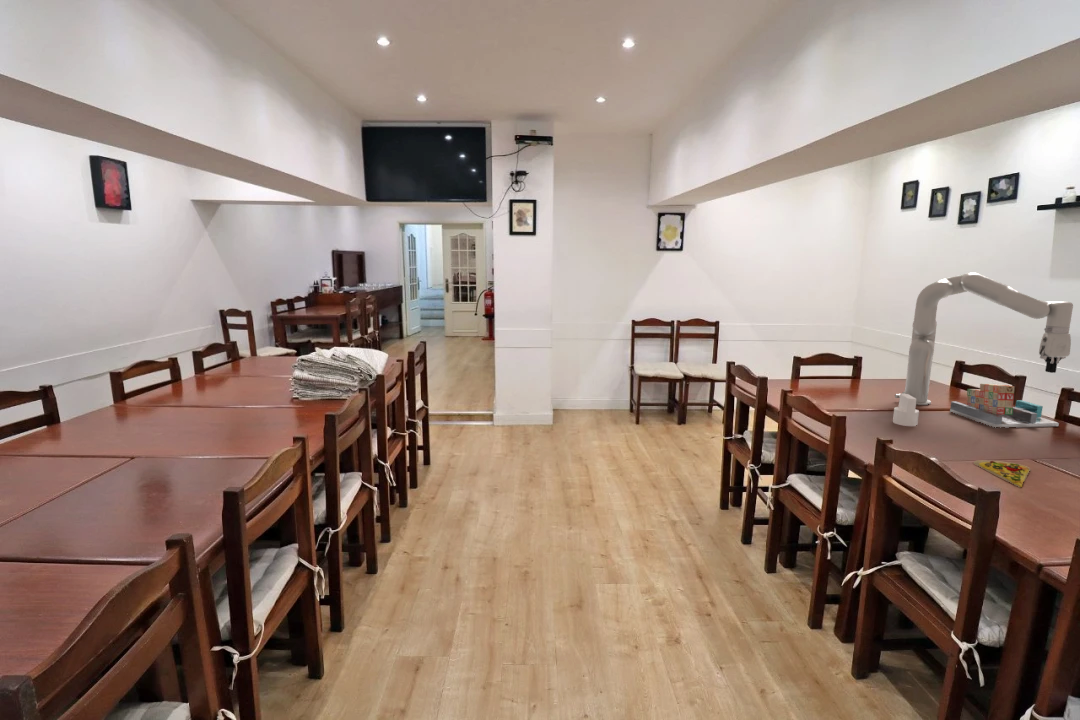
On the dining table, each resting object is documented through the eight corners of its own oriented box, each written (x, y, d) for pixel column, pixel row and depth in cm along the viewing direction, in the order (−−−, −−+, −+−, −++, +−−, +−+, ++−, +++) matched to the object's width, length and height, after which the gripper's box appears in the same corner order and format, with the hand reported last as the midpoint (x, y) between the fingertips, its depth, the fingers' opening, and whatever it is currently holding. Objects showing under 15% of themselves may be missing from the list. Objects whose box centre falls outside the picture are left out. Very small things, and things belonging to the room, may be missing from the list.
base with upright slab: (921, 426, 233) (924, 399, 231) (897, 425, 235) (901, 398, 233) (911, 420, 242) (915, 394, 240) (889, 419, 244) (892, 393, 241)
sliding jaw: (1030, 422, 231) (1032, 411, 230) (981, 407, 255) (983, 396, 254) (1056, 422, 232) (1058, 410, 231) (1005, 406, 255) (1007, 396, 254)
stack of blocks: (966, 409, 253) (967, 382, 253) (981, 409, 252) (982, 382, 252) (996, 414, 232) (998, 385, 232) (1013, 415, 231) (1014, 385, 231)
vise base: (995, 428, 231) (997, 416, 230) (949, 412, 254) (951, 401, 253) (1058, 426, 232) (1060, 414, 231) (1007, 410, 256) (1009, 400, 255)
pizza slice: (1027, 470, 188) (1028, 462, 187) (1051, 494, 169) (1053, 485, 169) (971, 463, 194) (972, 455, 194) (988, 485, 176) (990, 476, 175)
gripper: (1049, 331, 233) (1042, 374, 236) (1082, 331, 234) (1075, 373, 237) (1032, 329, 240) (1026, 370, 244) (1064, 328, 241) (1058, 369, 244)
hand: (1050, 371), depth 240 cm, fingers closed
